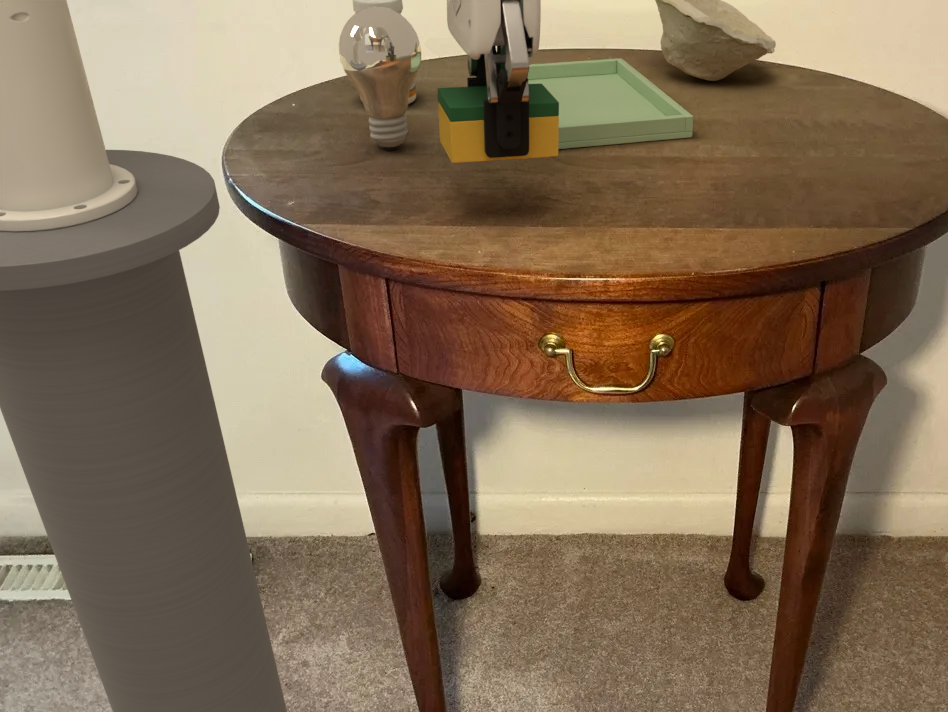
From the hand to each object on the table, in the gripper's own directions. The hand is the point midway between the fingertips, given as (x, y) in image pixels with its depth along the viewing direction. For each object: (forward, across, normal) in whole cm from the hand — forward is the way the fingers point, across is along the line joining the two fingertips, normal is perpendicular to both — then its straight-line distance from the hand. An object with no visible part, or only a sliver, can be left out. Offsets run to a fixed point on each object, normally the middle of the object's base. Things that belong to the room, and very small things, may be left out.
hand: (498, 140), depth 79 cm
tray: (+6, -25, +14) cm, 29 cm away
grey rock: (+6, -33, +31) cm, 45 cm away
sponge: (+1, 0, 0) cm, 1 cm away
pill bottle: (+7, -33, -4) cm, 34 cm away
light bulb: (+6, -18, -6) cm, 20 cm away
